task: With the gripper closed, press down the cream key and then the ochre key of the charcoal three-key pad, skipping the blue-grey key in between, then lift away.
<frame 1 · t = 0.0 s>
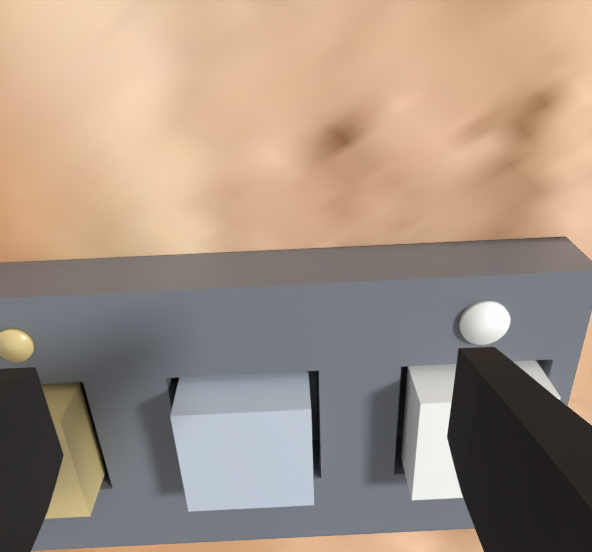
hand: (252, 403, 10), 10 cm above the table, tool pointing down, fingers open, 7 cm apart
key ochre: (20, 452, 20), point 3 cm above the table, slide at 0.0 cm
keypad: (251, 386, 22), on the table
key cream: (473, 430, 20), point 3 cm above the table, slide at 0.0 cm
key grey: (247, 441, 20), point 3 cm above the table, slide at 0.0 cm
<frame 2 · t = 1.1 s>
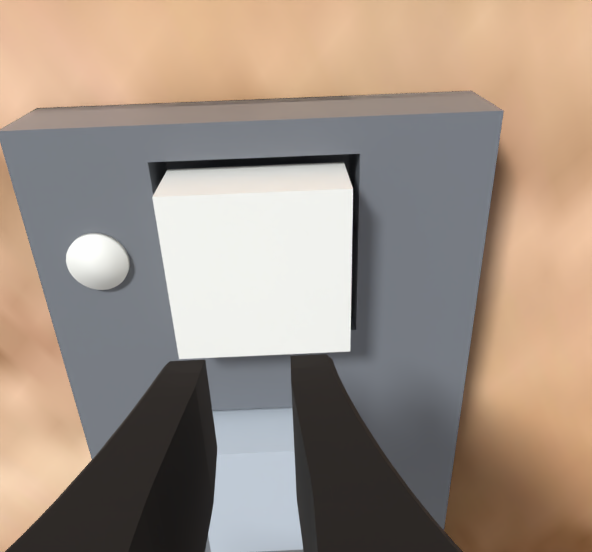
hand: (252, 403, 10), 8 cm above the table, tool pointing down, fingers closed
keypad: (276, 415, 21), on the table
key cream: (260, 261, 14), point 3 cm above the table, slide at 0.0 cm
key grey: (275, 478, 18), point 3 cm above the table, slide at 0.0 cm
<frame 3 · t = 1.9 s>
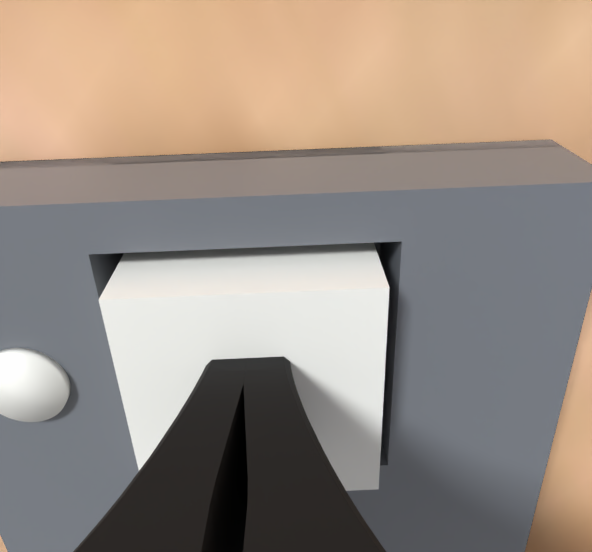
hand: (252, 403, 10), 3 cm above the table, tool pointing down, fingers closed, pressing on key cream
keypad: (277, 534, 17), on the table
key cream: (256, 369, 11), point 2 cm above the table, slide at 0.6 cm, touching gripper
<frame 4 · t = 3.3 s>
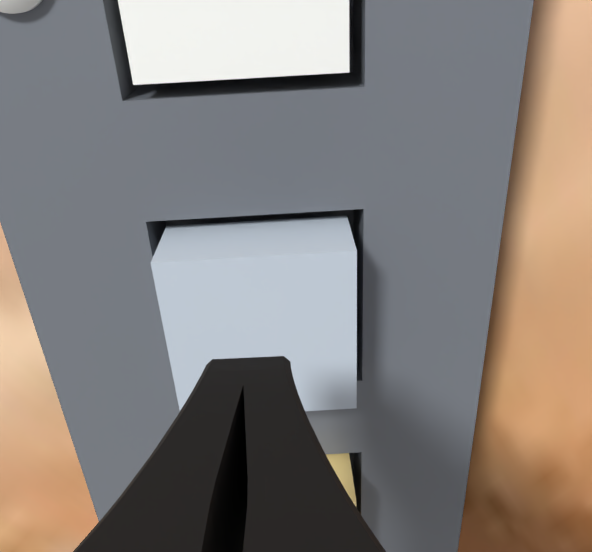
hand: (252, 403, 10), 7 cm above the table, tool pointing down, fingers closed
key ochre: (282, 527, 18), point 3 cm above the table, slide at 0.0 cm
keypad: (265, 263, 17), on the table
key grey: (262, 318, 14), point 3 cm above the table, slide at 0.0 cm
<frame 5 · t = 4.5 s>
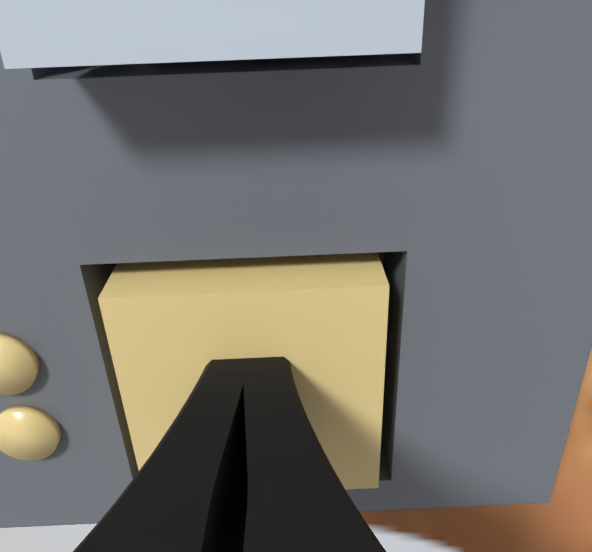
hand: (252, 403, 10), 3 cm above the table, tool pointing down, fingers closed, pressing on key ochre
key ochre: (256, 367, 11), point 2 cm above the table, slide at 1.0 cm, touching gripper
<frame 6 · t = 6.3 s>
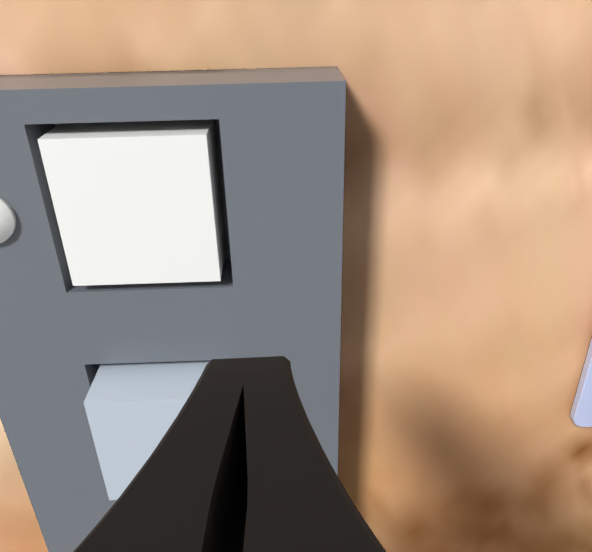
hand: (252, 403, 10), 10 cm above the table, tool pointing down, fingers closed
keypad: (182, 375, 22), on the table
key cream: (142, 202, 17), point 2 cm above the table, slide at 1.3 cm
key grey: (169, 430, 20), point 3 cm above the table, slide at 0.0 cm
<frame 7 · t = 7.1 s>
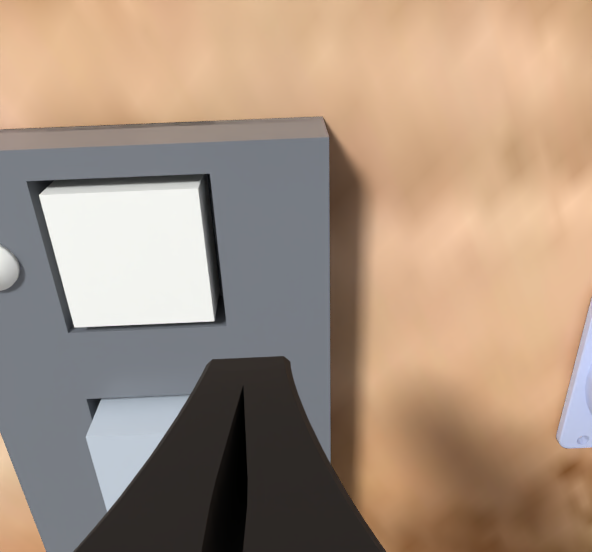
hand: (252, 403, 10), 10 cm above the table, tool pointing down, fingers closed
keypad: (180, 404, 23), on the table
key cream: (139, 247, 18), point 2 cm above the table, slide at 1.3 cm
key grey: (168, 459, 21), point 3 cm above the table, slide at 0.0 cm
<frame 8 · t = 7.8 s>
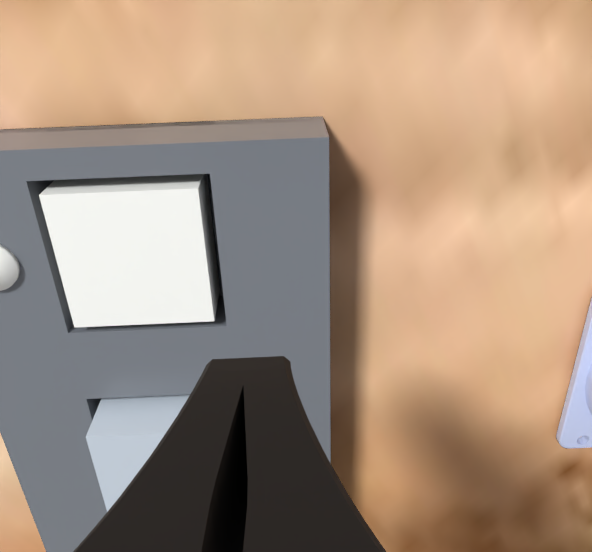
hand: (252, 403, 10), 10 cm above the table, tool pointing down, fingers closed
keypad: (180, 404, 23), on the table
key cream: (139, 247, 18), point 2 cm above the table, slide at 1.3 cm
key grey: (168, 459, 21), point 3 cm above the table, slide at 0.0 cm
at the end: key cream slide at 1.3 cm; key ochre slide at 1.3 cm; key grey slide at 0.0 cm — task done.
